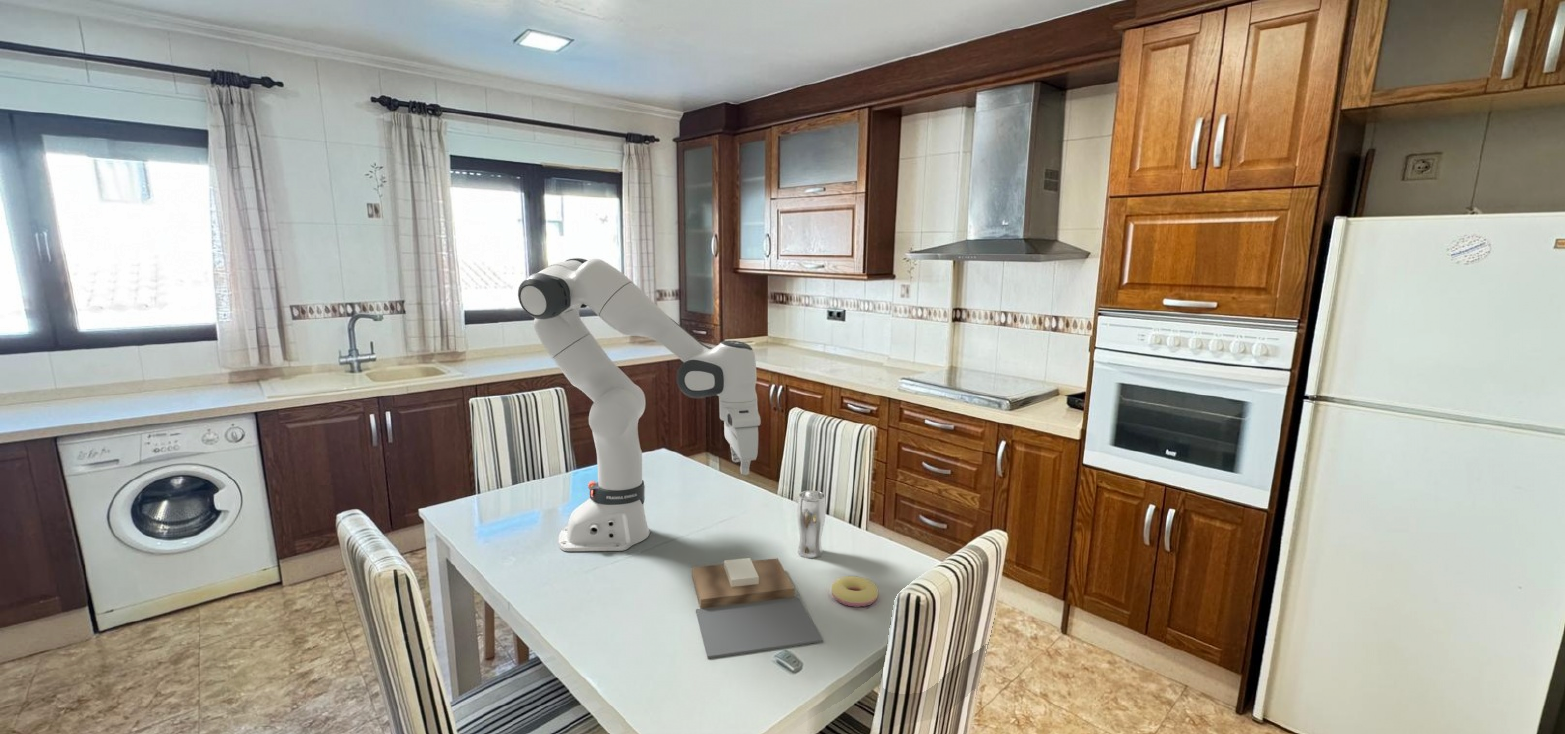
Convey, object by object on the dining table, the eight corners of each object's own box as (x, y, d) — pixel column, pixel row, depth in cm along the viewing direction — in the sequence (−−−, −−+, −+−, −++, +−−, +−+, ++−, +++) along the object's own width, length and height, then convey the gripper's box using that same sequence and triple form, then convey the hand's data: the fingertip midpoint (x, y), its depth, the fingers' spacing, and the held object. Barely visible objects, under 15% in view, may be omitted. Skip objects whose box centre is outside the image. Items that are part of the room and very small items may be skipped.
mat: (707, 658, 114) (707, 656, 114) (695, 611, 129) (695, 608, 129) (822, 642, 120) (822, 639, 120) (798, 598, 135) (798, 596, 135)
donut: (834, 594, 142) (830, 611, 133) (832, 574, 142) (828, 589, 133) (879, 592, 140) (878, 609, 131) (877, 572, 140) (876, 587, 131)
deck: (700, 610, 130) (700, 599, 129) (692, 577, 143) (692, 567, 143) (794, 599, 135) (794, 588, 135) (777, 568, 148) (777, 558, 148)
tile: (731, 586, 134) (731, 580, 134) (723, 567, 143) (723, 560, 143) (758, 583, 136) (758, 576, 136) (749, 564, 145) (749, 557, 144)
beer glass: (791, 554, 155) (792, 496, 153) (803, 544, 161) (805, 488, 159) (816, 561, 152) (819, 502, 150) (828, 550, 158) (830, 493, 156)
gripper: (717, 401, 155) (719, 455, 158) (734, 422, 136) (736, 483, 139) (742, 399, 157) (743, 453, 160) (762, 420, 138) (764, 480, 140)
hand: (740, 467), depth 149 cm, fingers open, 8 cm apart
